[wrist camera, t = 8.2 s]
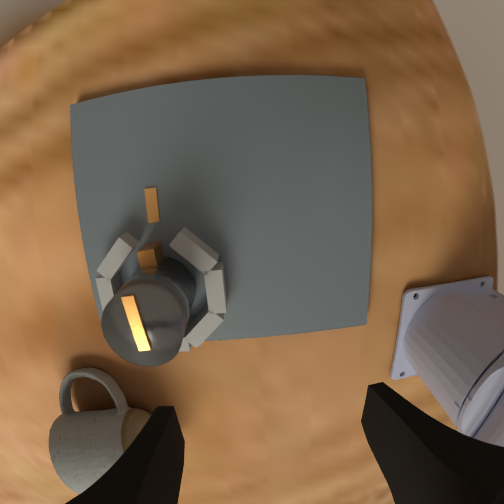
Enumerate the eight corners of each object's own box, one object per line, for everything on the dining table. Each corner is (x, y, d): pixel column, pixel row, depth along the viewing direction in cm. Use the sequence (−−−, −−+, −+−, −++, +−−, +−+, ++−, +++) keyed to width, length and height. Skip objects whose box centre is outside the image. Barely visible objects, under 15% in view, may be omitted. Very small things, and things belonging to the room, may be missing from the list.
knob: (201, 312, 20) (191, 365, 14) (142, 319, 20) (115, 371, 14) (185, 236, 18) (164, 267, 13) (122, 247, 18) (82, 281, 13)
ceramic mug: (181, 444, 24) (171, 512, 17) (110, 451, 24) (90, 509, 17) (121, 352, 21) (83, 420, 14) (49, 369, 22) (6, 424, 14)
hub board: (360, 81, 17) (374, 72, 15) (362, 319, 21) (374, 335, 19) (75, 106, 16) (58, 101, 14) (110, 337, 21) (99, 354, 18)
